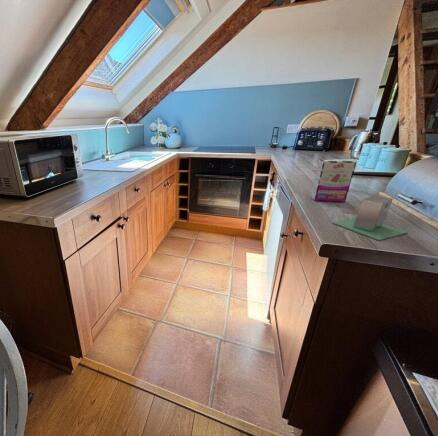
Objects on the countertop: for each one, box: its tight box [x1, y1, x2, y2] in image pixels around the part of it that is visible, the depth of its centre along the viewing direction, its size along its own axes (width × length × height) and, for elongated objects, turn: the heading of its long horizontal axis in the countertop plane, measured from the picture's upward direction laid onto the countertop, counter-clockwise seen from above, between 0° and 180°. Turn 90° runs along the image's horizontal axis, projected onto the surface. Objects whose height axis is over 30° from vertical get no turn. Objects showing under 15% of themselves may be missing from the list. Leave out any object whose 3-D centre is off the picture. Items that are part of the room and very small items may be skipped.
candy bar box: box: [310, 158, 358, 203], centre depth 98 cm, size 11×5×16 cm, turn 76°
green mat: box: [332, 217, 408, 242], centre depth 75 cm, size 13×13×1 cm
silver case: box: [353, 194, 394, 232], centre depth 74 cm, size 5×8×9 cm, turn 122°
